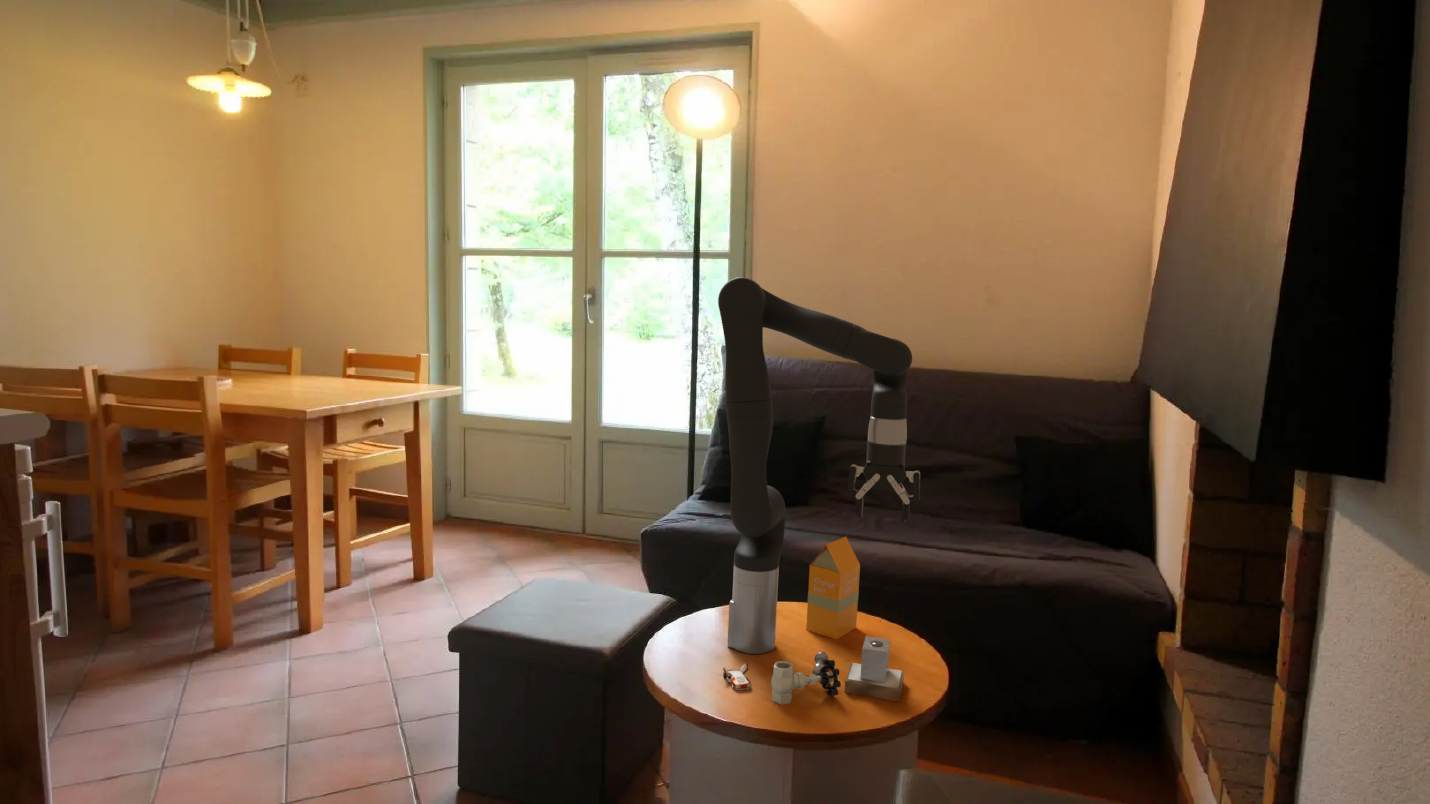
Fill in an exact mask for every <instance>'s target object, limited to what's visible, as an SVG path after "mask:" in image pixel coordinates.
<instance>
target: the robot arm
mask: <svg viewBox="0 0 1430 804" xmlns="http://www.w3.org/2000/svg"><path fill="white" fill-rule="evenodd" d="M717 299H718V300H717V302H718V303H717V304H718V309H719V314H720V319H721V325H722V331H723V338H724V344H725V345H724V346H725V374H724V375H725V376H724V377H725V378H724V380H725V385H724V386H725V404H726V405H725V408H726V418H727V420H726V421H727V431H728V446H729V456H730V468H731V469H730V470H731V471H730V473H731V474H730V476H731V477H730V479H731V480H730V505H729V506H730V507H729V510H730V511H729V512H730V517H731V521H732V524H733V526H734V527H735V530H737V531H738V533H740V539H739V542H738V543H737V546H736V548H735V551H734V553H733V576H732V577H733V578H732V599H730V601H729V604H728V624H727V625H728V628H727V647H729V648H732V649H734V650H736V651H738V652H741V653H744V654H745V653H746V654H752V655H753V654H755V655H757V654H766V653H769V652H771V651H773V650H774V649H775V647H776V636H777V635H776V633H777V632H776V630H777V629H776V628H777V614H778V613H777V610H778V608H777V607H778V592H779V591H778V589H779V588H778V587H779V568H780V566H779V565H780V559H781V555H782V551H783V548H784V540H785V530H786V529H785V527H786V514H787V512H786V511H787V510H786V504H785V500H784V498H783V495H782V494H781V493H780V491H779V490H777V488H775V487H773V486H771V485H768V481H767V460H768V459H767V458H768V454H769V449H770V444H771V439H772V435H773V434H772V433H773V428H774V410H773V394H772V386H771V379H770V375H769V371H768V366H767V362H766V357H765V351H764V342H763V339H764V335H763V333H764V331H763V330H764V329H769V330H773V331H776V332H779V333H781V334H784V335H787V336H790V337H791V338H795V339H796V340H799V341H800V342H803V343H805V344H807V345H810V346H812V347H814V348H817V349H819V350H820V351H823V352H826V353H829V354H831V355H835V356H836V357H839V358H842V359H845V360H849V361H853V362H856V363H858V364H860V365H861V366H865V367H867V368H869V369H871V370H872V386H873V387H872V388H873V389H872V395H871V401H870V403H871V404H870V405H871V406H870V415H869V416H870V419H869V422H868V428H867V429H868V430H867V443H866V445H867V446H866V461H865V466H858V465H857V464H854V463H853V464H851V466H850V467H849V473H848V480H847V487H846V488H847V489H846V495H848V496H851V497H854V499H855V504H854V506H855V507H854V514H855V515H857V518H862V517H863V515H864V514H863V513H864V496H865V494H867V493H868V491H869V490H871V488H873V489H875V491H882V490H883V491H886V492H892V491H895V493H896V494H897V495H898V496H899V498H900V499H901V501H902V503H901V504H902V505H901V518H900V522H901V523H906V521H908V519H909V517H910V510H911V509H910V507H911V504H913V503H918V502H919V501H920V498H921V472H920V470H918V469H917V470H914V471H913V470H912V471H911V470H906V467H905V465H906V464H905V463H906V450H907V449H906V448H907V439H908V435H907V434H908V425H907V424H908V423H907V414H908V392H907V378H908V370H909V369H910V367H911V366H912V363H913V354H912V351H911V349H910V347H909V346H908V345H907V344H906V343H905V342H903V341H901V340H899V339H898V338H897V339H896V338H891V337H888V336H885V335H883V334H879V333H875V332H873V331H869V330H867V329H866V328H864V327H862V326H860V325H858V324H856V323H853V322H850V321H847V320H845V319H842V318H839V317H836V316H833V315H831V314H827V313H824V312H822V311H821V312H820V311H817V310H813V309H810V308H806V307H803V306H800V305H797V304H795V303H792V302H789V301H787V300H785V299H783V298H780V297H778V296H776V295H775V294H773V293H771V292H769V291H768V290H766V289H764V288H763V287H762V286H761V285H760V284H758V283H757V282H756V281H755V280H753V279H751V278H748V277H745V276H743V277H742V276H739V277H734V278H732V279H730V280H729V281H727V282H726V283H725V284H724V285H723V286H722V287H721V288H720V291H719V294H718V297H717ZM861 473H863V475H864V477H865V478H866V482H865V483H864V484H863V486H862V487H861V488H859V489H857V488H856V481H857V478H858V477H860V475H861ZM905 478H908V480H909V482H910V483H912V495H909V493H908V492H907V490H906V488H905V487H904V485H903V484H902V482H903V481H904V480H905Z"/></svg>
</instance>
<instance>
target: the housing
mask: <svg viewBox="0 0 1430 804" xmlns="http://www.w3.org/2000/svg"><path fill="white" fill-rule="evenodd" d="M890 644H891V639H889V638H888V639H887V638H881V637H876V636H875V637H874V636H869V635H865V638H864V641H863V645H862V649H861V663H860V664H861V677H860V680H867V681H873V682H879V683H885V682H886V677H887V672H888V669H889V659H890V657H889V656H890Z"/></svg>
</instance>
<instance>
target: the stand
mask: <svg viewBox="0 0 1430 804" xmlns="http://www.w3.org/2000/svg"><path fill="white" fill-rule="evenodd" d="M904 673H905V672H904V671H903V670H901V669H894V668H893V669H892V668H888V672H887V677H886V682H885V683H879V682H873V681H867V680H860V677H861V663H855V662H853V663H850V666H849V669H848V671H847V673H846V678H845V682H844V693H847V694H852V695H859V696H863V697H864V696H865V697H870V698H876V699H883V700H888V701H894V702H900V701H901V697H902V692H903V686H904V675H905V674H904Z"/></svg>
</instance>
